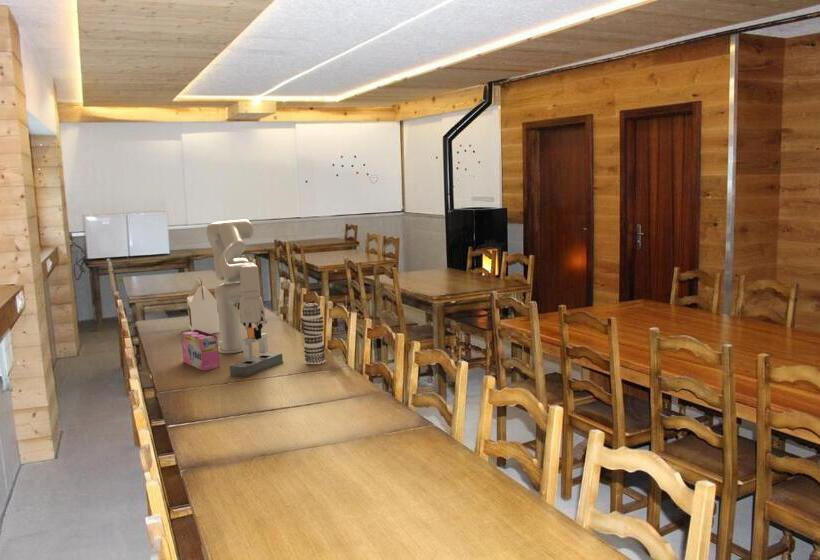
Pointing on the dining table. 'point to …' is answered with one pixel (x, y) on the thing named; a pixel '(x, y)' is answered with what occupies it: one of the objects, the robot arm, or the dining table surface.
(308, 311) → the decorative candle
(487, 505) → the dining table surface
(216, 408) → the dining table surface
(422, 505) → the dining table surface
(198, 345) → the gum box
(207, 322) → the gable box
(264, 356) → the grey block with holes
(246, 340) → the clip
